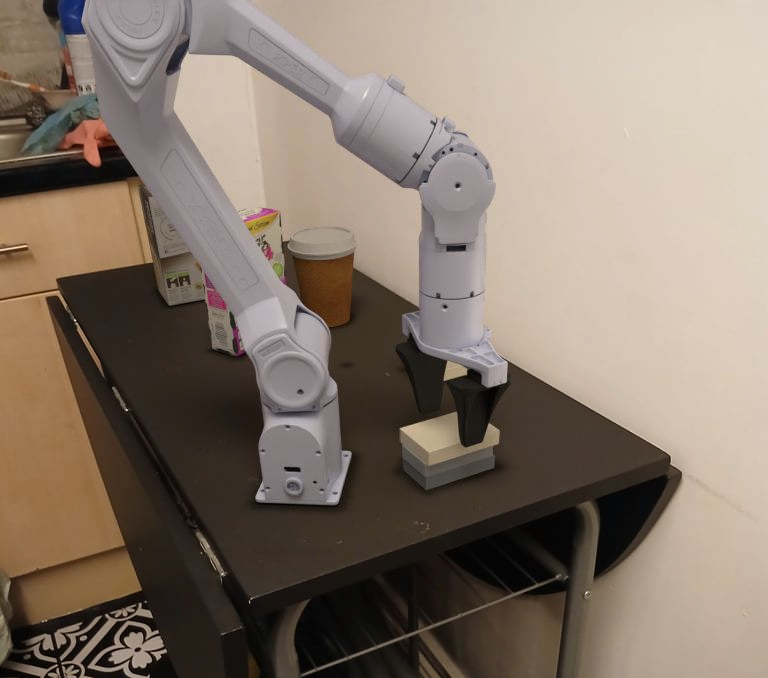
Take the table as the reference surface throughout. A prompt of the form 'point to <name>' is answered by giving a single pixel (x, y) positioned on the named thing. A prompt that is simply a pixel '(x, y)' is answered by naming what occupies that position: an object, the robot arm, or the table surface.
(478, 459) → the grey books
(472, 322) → the robot arm
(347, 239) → the disposable coffee cup
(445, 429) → the cream rectangular block
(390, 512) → the table surface
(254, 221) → the candy bar box
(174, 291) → the coffee box
